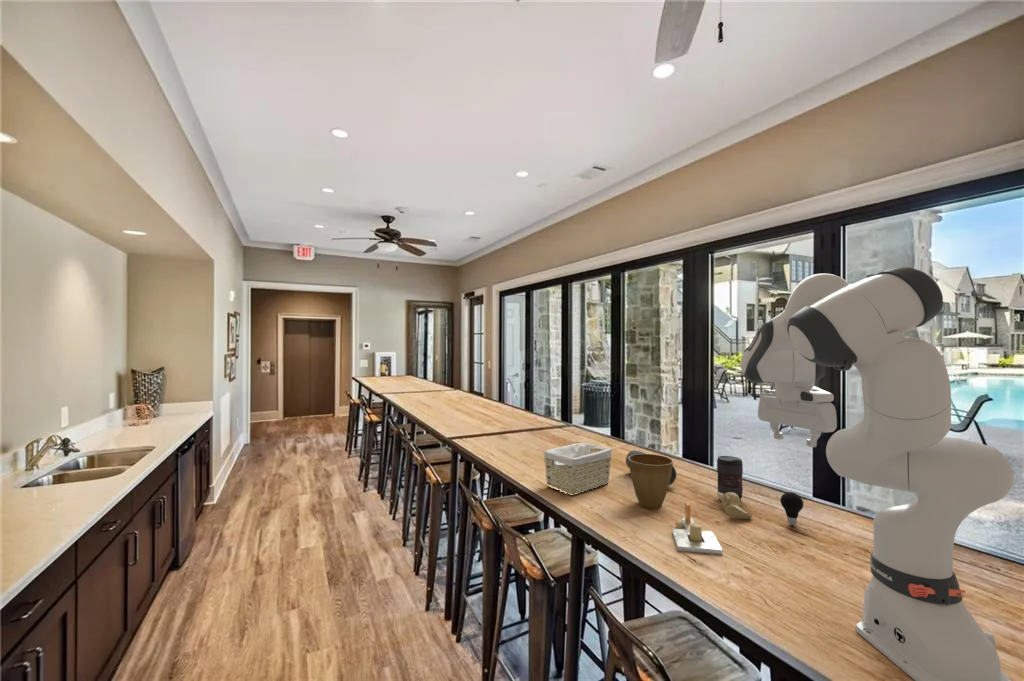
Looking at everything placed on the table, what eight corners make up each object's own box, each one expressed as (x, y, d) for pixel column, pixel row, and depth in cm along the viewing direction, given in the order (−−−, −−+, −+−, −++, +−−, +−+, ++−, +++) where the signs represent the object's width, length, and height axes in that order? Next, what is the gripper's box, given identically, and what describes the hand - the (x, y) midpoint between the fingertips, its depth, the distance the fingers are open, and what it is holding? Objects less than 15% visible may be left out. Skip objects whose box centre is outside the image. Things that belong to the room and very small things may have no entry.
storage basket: (583, 475, 183) (583, 440, 183) (614, 484, 170) (613, 447, 170) (542, 487, 168) (541, 450, 168) (572, 499, 155) (571, 459, 155)
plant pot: (665, 517, 139) (665, 467, 139) (622, 506, 148) (621, 460, 148) (679, 502, 150) (678, 457, 150) (638, 494, 159) (637, 451, 159)
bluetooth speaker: (624, 473, 184) (624, 450, 184) (643, 470, 187) (642, 448, 187) (657, 490, 163) (656, 464, 163) (677, 487, 166) (677, 461, 166)
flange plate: (722, 554, 111) (722, 530, 111) (677, 550, 114) (677, 527, 114) (706, 523, 130) (705, 502, 130) (668, 520, 133) (667, 500, 133)
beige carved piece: (729, 505, 132) (717, 482, 143) (720, 523, 134) (709, 499, 145) (756, 513, 131) (742, 489, 142) (746, 531, 133) (734, 506, 145)
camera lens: (748, 502, 149) (747, 459, 149) (731, 506, 146) (730, 462, 146) (729, 494, 157) (728, 454, 157) (712, 498, 154) (711, 456, 154)
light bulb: (807, 530, 127) (806, 496, 127) (785, 528, 129) (785, 495, 129) (798, 522, 133) (797, 489, 133) (777, 520, 134) (777, 488, 134)
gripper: (752, 388, 126) (752, 435, 126) (823, 396, 107) (824, 452, 106) (768, 387, 128) (768, 434, 128) (840, 395, 109) (841, 450, 109)
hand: (794, 442), depth 117 cm, fingers open, 8 cm apart
